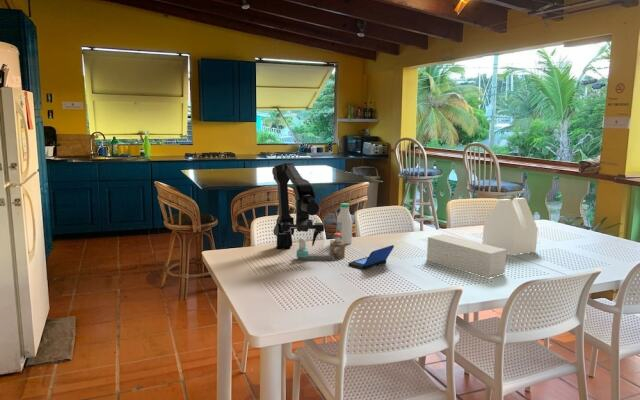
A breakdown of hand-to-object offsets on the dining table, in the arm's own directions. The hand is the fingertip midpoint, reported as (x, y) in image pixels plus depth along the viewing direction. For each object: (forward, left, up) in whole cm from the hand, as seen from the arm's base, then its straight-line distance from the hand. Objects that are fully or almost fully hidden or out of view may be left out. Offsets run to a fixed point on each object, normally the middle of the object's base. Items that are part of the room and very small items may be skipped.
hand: (302, 245), depth 219 cm
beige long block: (+69, -10, -6) cm, 70 cm away
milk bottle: (+21, +30, -6) cm, 37 cm away
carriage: (0, 0, -4) cm, 4 cm away
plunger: (+16, +7, 0) cm, 17 cm away
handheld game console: (+29, -9, -6) cm, 31 cm away
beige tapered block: (+101, +20, -6) cm, 103 cm away
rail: (+6, 0, -6) cm, 8 cm away
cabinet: (+16, +7, -6) cm, 18 cm away
